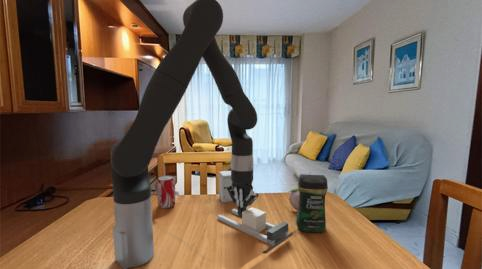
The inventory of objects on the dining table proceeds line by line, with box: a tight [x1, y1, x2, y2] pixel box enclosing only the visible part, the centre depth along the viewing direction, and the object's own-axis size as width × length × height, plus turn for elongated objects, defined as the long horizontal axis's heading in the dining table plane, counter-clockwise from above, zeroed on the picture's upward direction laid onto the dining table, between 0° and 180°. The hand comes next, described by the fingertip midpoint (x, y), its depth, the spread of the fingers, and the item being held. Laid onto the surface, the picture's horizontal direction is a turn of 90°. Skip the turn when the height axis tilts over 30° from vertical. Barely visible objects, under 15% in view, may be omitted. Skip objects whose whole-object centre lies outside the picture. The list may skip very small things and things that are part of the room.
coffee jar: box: [295, 173, 329, 233], centre depth 85 cm, size 10×8×19 cm
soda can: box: [156, 175, 176, 209], centre depth 104 cm, size 7×7×12 cm
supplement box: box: [218, 170, 235, 203], centre depth 109 cm, size 7×7×13 cm
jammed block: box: [241, 207, 267, 233], centre depth 84 cm, size 6×5×6 cm
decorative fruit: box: [288, 188, 300, 211], centre depth 98 cm, size 9×8×10 cm
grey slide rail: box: [217, 208, 294, 254], centre depth 85 cm, size 24×14×5 cm, turn 46°
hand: (242, 216), depth 87 cm, fingers closed
